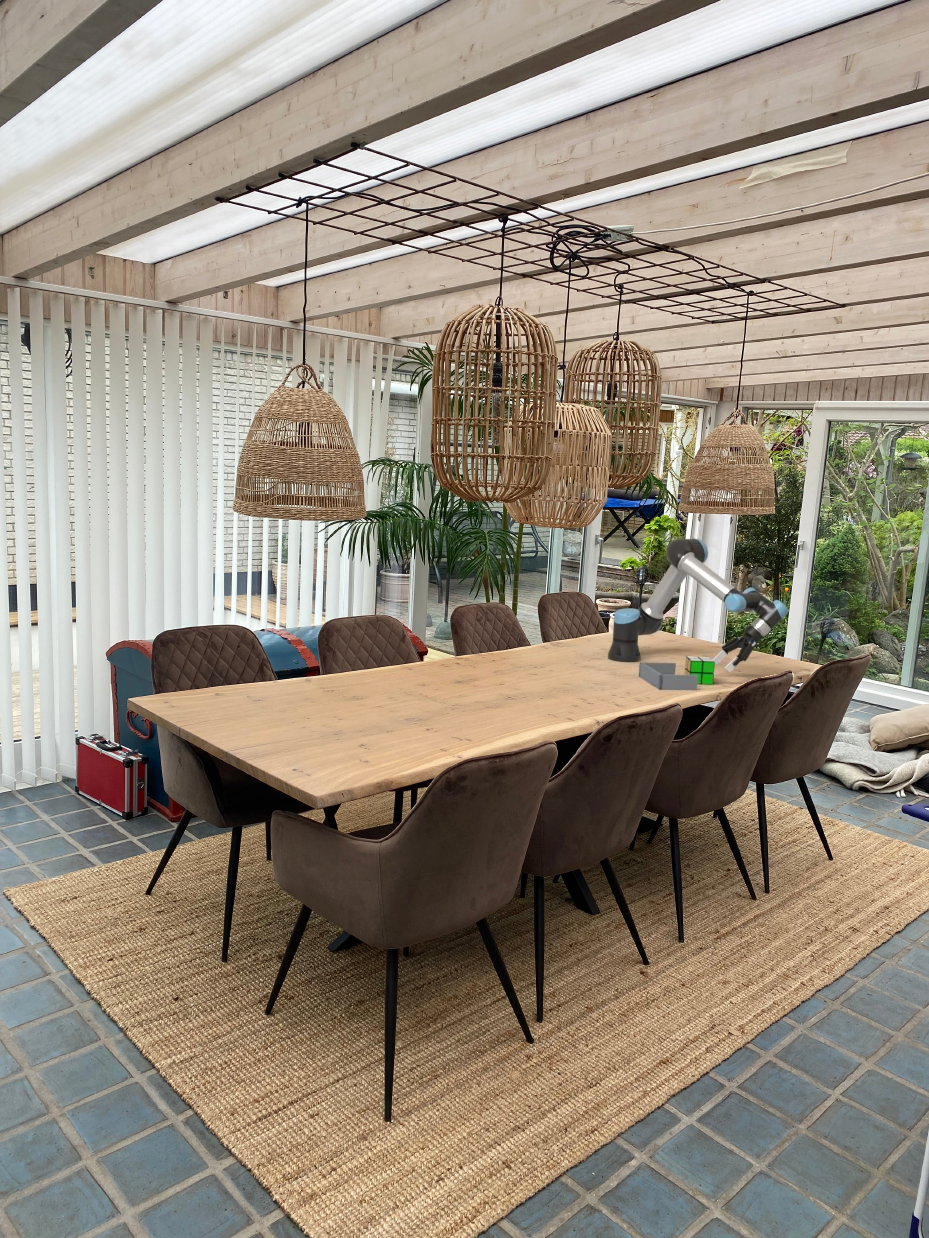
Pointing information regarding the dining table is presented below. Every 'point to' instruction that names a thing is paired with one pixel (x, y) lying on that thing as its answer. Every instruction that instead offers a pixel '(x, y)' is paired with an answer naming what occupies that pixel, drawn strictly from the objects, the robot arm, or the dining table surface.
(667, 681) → the grey u-shaped wall
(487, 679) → the dining table surface
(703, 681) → the puzzle cube
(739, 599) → the robot arm
